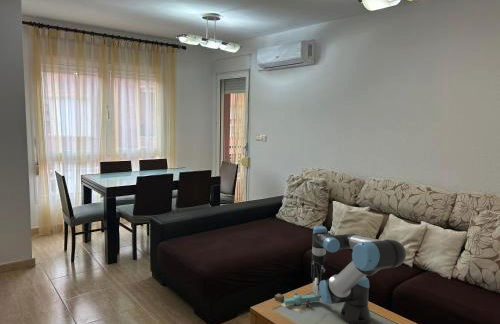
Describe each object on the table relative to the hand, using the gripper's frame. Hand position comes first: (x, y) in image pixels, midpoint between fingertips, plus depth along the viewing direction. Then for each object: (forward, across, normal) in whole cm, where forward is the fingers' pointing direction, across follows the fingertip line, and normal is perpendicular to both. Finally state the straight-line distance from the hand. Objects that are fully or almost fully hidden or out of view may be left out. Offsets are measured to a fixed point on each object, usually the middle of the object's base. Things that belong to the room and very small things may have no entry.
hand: (317, 293), depth 205 cm
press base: (+6, 0, +13) cm, 14 cm away
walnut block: (+4, +7, +18) cm, 20 cm away
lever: (+4, 0, +9) cm, 10 cm away
